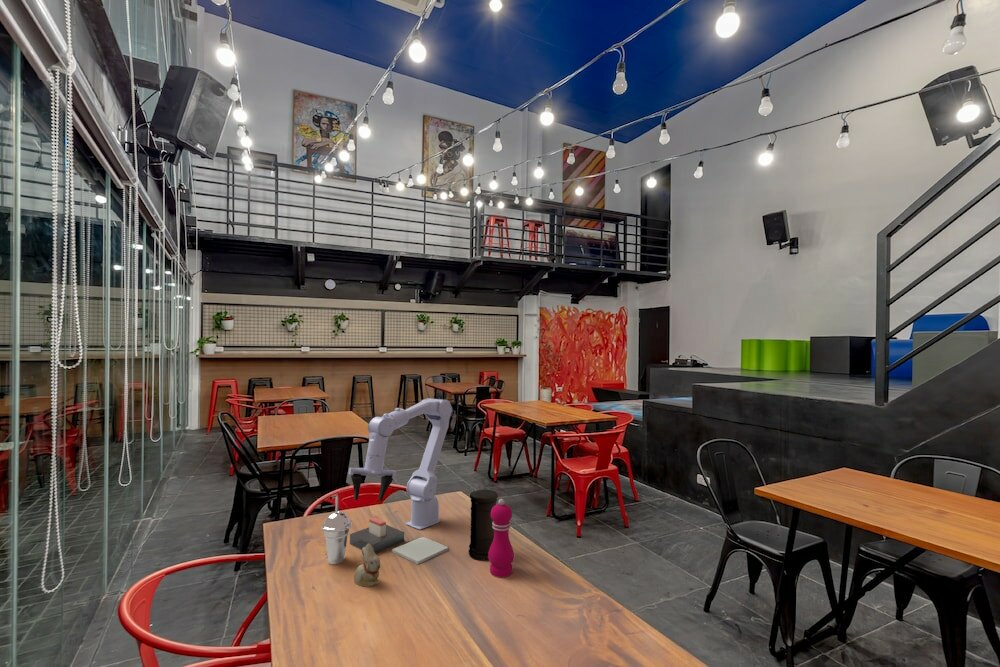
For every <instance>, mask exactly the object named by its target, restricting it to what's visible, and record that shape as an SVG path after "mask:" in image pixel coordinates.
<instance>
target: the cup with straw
mask: <svg viewBox="0 0 1000 667" xmlns="http://www.w3.org/2000/svg"><path fill="white" fill-rule="evenodd" d="M334 498H335V511H334V512H331V513H330V514H328V516H327V517H326V518H325V520H324V522H323V523H322V524H321V528H320V530H321V531H322V532H323V534H324V538H325V546H326V555H327V556H326V557H327V562H328V564H330V565H338V564H341V563H343V562H344V561H345V556H346V551H347V550H346V548H347V542H348V535H349V532H350V528H351V527H352V526H353V523H352V520H350V518H349V516H348V515H347V514H346V512H343V511H339V495H338V493H335V494H333V495H331V496H330V497H329V500H332V499H334Z"/></svg>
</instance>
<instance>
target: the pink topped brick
mask: <svg viewBox="0 0 1000 667" xmlns="http://www.w3.org/2000/svg"><path fill="white" fill-rule="evenodd" d="M368 524H369V525H368V528H369V533H371V534H373V535H376V536H378V537H383V536H385V535H386V525H387V523H386V521H385V520H383V519H380V518H377V517H372V518H370V519H368Z"/></svg>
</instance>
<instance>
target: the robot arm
mask: <svg viewBox="0 0 1000 667" xmlns="http://www.w3.org/2000/svg"><path fill="white" fill-rule="evenodd" d="M393 409H394V410H393V411H391V412H388V413H383V415H382V416H375V417H373V418H372V419H371V420H370V421H369V423H368V424H367V431H368V432H369V433H368V438H369V440H368V446H367V451H366V458H365V463H364V467H349V468H348V475H350V478H351V482H352V486H353V500H355V501H358V500H359V496H360V489H361V484H362V481H363V478H362V476H366V477H367V476H368V477H369V476H372V477H373V476H374V477H380V488H379V493H378V498H377V499H378V500H379V501H380V502H382V501H383V498H384V497H385V494H386V492H387V491H388V488H389V487H390V485H391V484H392V482H393V481H394V478H396V476H397V470H394V469H393V470H392V469H384V466H385V465H384V464H385V459H386V454H387V453H386V451H387V448H388V447H387V446H388V441H389V437H390V436H391V435H392V434H393V432H394V431H395V430H397V429H399V428H401V427H403V426H405V425H407V424H408V423H409V420H411V419H413V418H416V417H419V416H420V415H423V414H424V415H425V417H426V418H427V419H428V421H429V422H430V423H431V425H432V428H431V432H430V434H429V438H428V440H427V444H426V445H425V446H426V447H425V448H424V449H425V450H424V453H423V456H422V459H421V462H420V465H419V468H418V469H416V470H415V471H414V472H412V474H411V477H410V479H409V480H408V481H407V483H406V493H407V494H408V495H409V498H410V520H409V521H407V522H405V525H406V526H409V527H412V528H414V529H416V530H423V529H426V528H428V527H431V526H434V525H437V524H438V523H440V522H441V520H440V519H439V516H440V515H439V512H440V511H439V508H440V506H439V500H438V498H437V497H436V494H437V490H438V488H437V487H438V486H437V484H438V477H437V475H436V474H435V470H436V467H437V465H438V461H439V458H440V455H441V451H442V447H443V444H444V441H445V438H446V435H447V432H448V428H449V425H450V419H451V416H452V413H453V406H452V405H451V402H450V401H449V399H439V398H431V397H428V398H425V399H421V401H420V402H417V403H416V404H414V405H412V406H409V407H408V408H406V409H404V408H400V407H396V408H393Z"/></svg>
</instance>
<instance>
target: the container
mask: <svg viewBox="0 0 1000 667" xmlns="http://www.w3.org/2000/svg"><path fill="white" fill-rule="evenodd" d="M469 497H470V498H469V499H470V503H471V505H470V536H469V538H470V539H469V541H470V542H469V545H468V548H469V549H468V555H469V557H470V558H471V559H473V560H476V561H489V559H488V553H489V549H490V547H491V544H492V542H493V539H494V529H493V528H492V526H493V524H492V523H493V520H492V518H491V510H492V508H493V507H494V506H495V505H497V501H498V498H499V495H498V492H496V491H495V490H492V489H478V490H473V491H472V492H470V494H469Z"/></svg>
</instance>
